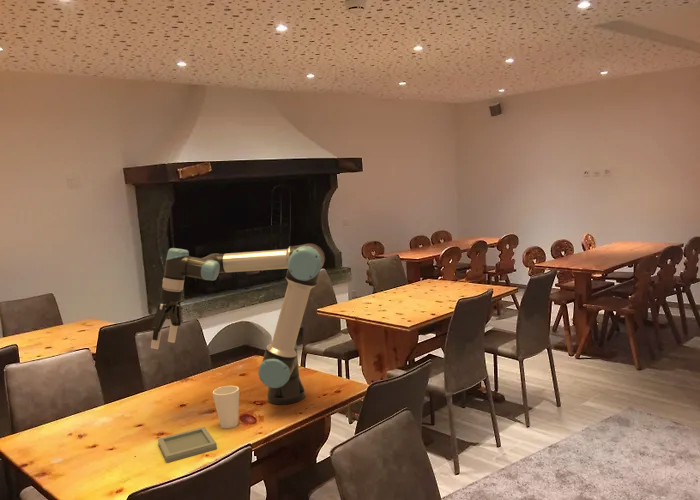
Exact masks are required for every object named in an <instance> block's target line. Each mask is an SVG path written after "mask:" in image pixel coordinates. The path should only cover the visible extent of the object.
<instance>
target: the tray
mask: <svg viewBox="0 0 700 500" xmlns="http://www.w3.org/2000/svg"><path fill="white" fill-rule="evenodd" d="M157 444H158V446H159V448H160V449H159V450H160V451H161V453H162V455H163V458H164V460H165V461H166V463H167V464H168V463H171V462H175V461H177V460H182V459H185V458H189V457H193V456H196V455H200V454H203V453H207V452H210V451H215V450H217V449H218V447H217V442H216V441H215V439H214V438H213V436H212V435H211V433H210V432H209V431H208V429H207V428H206V427H205V426H202V427H198V428H194V429H190V430H187V431H182V432H179V433H174V434H170V435H167V436H163V437H159V438H157Z"/></svg>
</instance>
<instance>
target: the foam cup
mask: <svg viewBox="0 0 700 500" xmlns="http://www.w3.org/2000/svg"><path fill="white" fill-rule="evenodd" d="M240 393H241V392H240V387H239V386H237V385H224V386H219V387H217V388H214V390H213V391H212V400H213V401H214V405H215V409H216V414H217V417H218V421H219V425H220V426H219V427H220V428H221V429H232V428H235V427H237V426H238V425H239V412H240V411H239V410H240V407H239V406H240V396H241V395H240Z"/></svg>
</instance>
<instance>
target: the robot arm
mask: <svg viewBox="0 0 700 500" xmlns="http://www.w3.org/2000/svg"><path fill="white" fill-rule="evenodd" d="M325 261H326V257H325V252H324V251H323V249H322V248H321V247H320V246H318V245H317V244H314V243H304V244H299V245H289V246H288V248H283V249H272V250H259V251H258V250H257V251H243V252H230V253H210V254H208V255H207V256H204V257H195V256H191V255H190V251H189V250H188V249H183V248H176V247H171V248H169V249H168V250H167V253H166V259H165V266H164V272H163V279H162V284H161V285H162V286H161V287H162V289H161V292H160V299H161V300H162V301H163V302H162V303H158V305H157V310H156V312H155V315H154V317H153V320H152V323H151V326H150V331H152V337H151V343H150V349H154V350H159V348H160V343H161V335H162V331H161V330H162V327H163V326H164V324H165V322H166V319H167V318H168V317H169V318H170V323H171V325H169V330H168V337H167V342H168V343H172V344H175V343H176V341H177V340H176V338H177V333H178V327H181V325H182V315H181V314H182V313H181V301H182V296H183V292H182V291H183V290H184V285H185V284H184V283H185V277H190V278H193V279H194V278H195V279H200V280H204V281H216V280H217V278H218V277H219V274H225V273H238V272H252V271H253V272H254V271H255V272H256V271H257V272H258V271H269V270H270V271H272V270H284V269H285V270H286V269H287V270H286V275H285V279H286V281H287V286H286V291H285V294H284V298H283V301H282V304H281V305H282V306H281V309H280V312H279V315H278V320H277V322H276V327H275V330H274V333H273V337H272V341H271V342H269V343H268V344H267V345H266V348H265V351H264V354H263V359H262V361H261V363H260V365H259V367H258V371H257V375H258V378H259V380H260V381H261V383H262V384H263V385H265V386H266V387H268V389H267V394H266V397H267V401H268V403H269V404H273V405H289V404H294V403H297V402H300V401H302V400H303V399H304V398H305V397H306V390H305V388H304V387H305V386H304V385H303V383H302V381H301V378H300V369H299V360H298V347H297V339H298V336H299V332H300V328H301V326H302V325H301V324H302V322H303V317H304V314H305V310H306V308H307V304H308V301H309V296H310V293H311V290H312V289H313V288H315V287H316V286H317V284H318V283H317V282H318V281H319V280H318V279H319V278H320V277H319V276H320V273H321V270H322V269H323V267H324V264H325Z"/></svg>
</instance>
